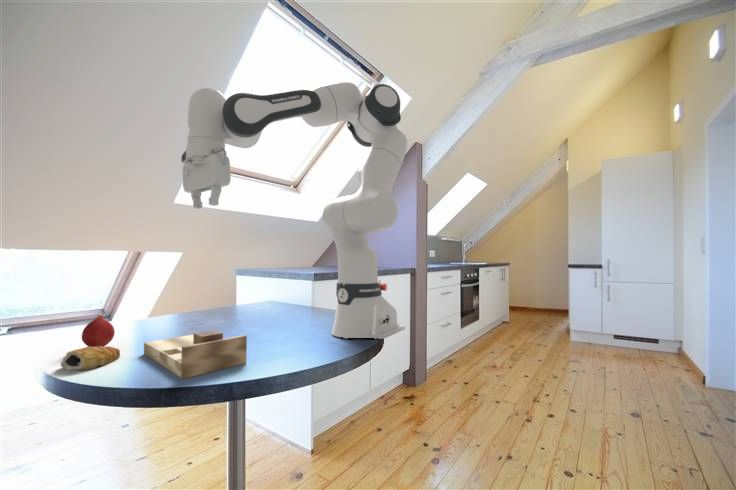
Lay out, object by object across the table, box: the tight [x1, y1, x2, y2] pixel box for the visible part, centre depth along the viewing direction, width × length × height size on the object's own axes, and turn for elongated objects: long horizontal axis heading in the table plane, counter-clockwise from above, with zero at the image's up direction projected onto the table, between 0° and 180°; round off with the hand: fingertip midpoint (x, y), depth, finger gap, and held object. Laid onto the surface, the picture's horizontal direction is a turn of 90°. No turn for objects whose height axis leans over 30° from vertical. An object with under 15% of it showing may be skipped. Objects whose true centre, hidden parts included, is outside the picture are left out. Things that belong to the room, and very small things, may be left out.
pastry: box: [60, 346, 121, 371], centre depth 69 cm, size 9×7×4 cm
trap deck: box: [143, 334, 248, 380], centre depth 73 cm, size 12×22×6 cm, turn 48°
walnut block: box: [193, 329, 224, 344], centre depth 68 cm, size 4×4×4 cm
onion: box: [81, 314, 115, 347], centre depth 78 cm, size 6×6×8 cm
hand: (205, 206), depth 89 cm, fingers open, 8 cm apart
